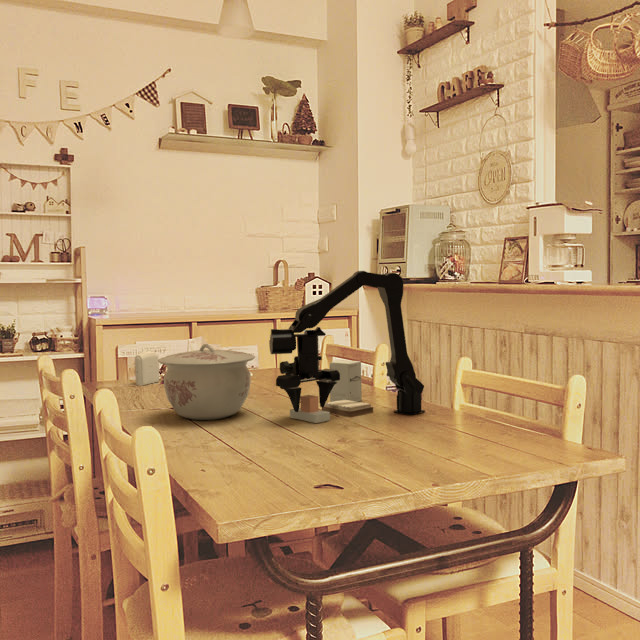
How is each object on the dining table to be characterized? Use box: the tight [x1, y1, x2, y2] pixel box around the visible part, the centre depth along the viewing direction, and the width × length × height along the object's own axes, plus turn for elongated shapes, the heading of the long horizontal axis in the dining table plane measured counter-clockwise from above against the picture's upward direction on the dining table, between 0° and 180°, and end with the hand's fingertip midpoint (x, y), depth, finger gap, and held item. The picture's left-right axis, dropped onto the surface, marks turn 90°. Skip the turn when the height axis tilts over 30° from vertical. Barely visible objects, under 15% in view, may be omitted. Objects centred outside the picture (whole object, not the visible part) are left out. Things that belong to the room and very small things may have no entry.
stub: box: [289, 394, 331, 424], centre depth 187 cm, size 11×5×6 cm, turn 42°
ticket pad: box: [321, 400, 374, 418], centre depth 197 cm, size 12×9×2 cm
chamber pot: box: [158, 343, 256, 421], centre depth 196 cm, size 28×28×21 cm
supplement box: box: [329, 359, 362, 402], centre depth 213 cm, size 7×7×13 cm
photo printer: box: [134, 350, 160, 387], centre depth 260 cm, size 10×4×12 cm, turn 152°
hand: (309, 409), depth 187 cm, fingers open, 9 cm apart
